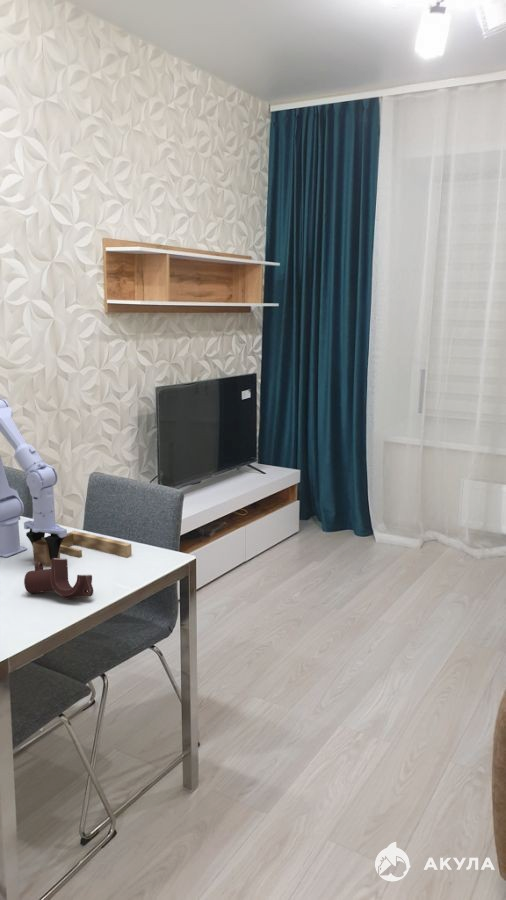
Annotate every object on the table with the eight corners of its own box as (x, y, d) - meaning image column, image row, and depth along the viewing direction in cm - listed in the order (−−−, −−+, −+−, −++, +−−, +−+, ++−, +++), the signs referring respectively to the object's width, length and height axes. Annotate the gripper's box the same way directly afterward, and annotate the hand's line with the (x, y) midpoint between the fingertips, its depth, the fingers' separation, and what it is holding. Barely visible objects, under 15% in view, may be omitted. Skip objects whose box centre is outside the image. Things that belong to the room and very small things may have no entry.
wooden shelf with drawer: (52, 550, 209) (52, 539, 208) (74, 541, 217) (74, 530, 216) (110, 565, 198) (109, 553, 198) (131, 555, 206) (131, 543, 205)
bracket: (85, 596, 172) (83, 554, 174) (24, 602, 177) (22, 561, 179) (98, 595, 178) (96, 554, 180) (38, 601, 183) (36, 562, 185)
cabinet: (34, 563, 200) (32, 539, 199) (47, 557, 204) (45, 534, 203) (46, 566, 198) (45, 542, 196) (60, 560, 202) (58, 537, 200)
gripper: (14, 510, 198) (17, 556, 201) (52, 518, 191) (55, 566, 194) (33, 503, 204) (36, 548, 207) (71, 511, 197) (73, 558, 200)
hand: (46, 557), depth 201 cm, fingers closed on cabinet, 5 cm apart
